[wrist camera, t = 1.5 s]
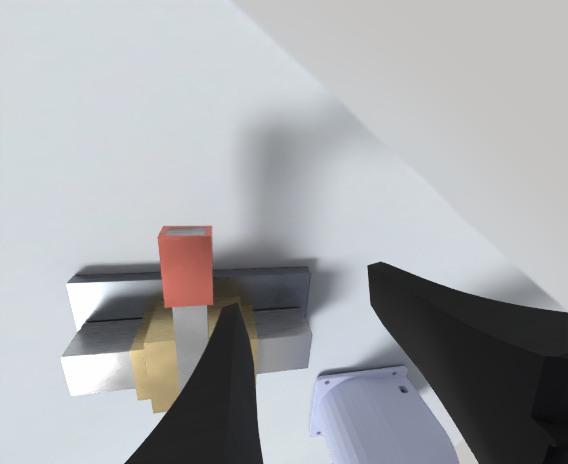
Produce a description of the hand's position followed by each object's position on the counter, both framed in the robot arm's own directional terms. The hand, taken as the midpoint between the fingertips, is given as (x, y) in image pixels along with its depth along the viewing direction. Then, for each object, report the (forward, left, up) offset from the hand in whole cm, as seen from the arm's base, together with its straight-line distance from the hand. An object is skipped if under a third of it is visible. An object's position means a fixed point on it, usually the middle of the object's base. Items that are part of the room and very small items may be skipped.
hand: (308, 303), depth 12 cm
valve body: (+5, +8, -9) cm, 13 cm away
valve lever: (+5, +3, -4) cm, 7 cm away
